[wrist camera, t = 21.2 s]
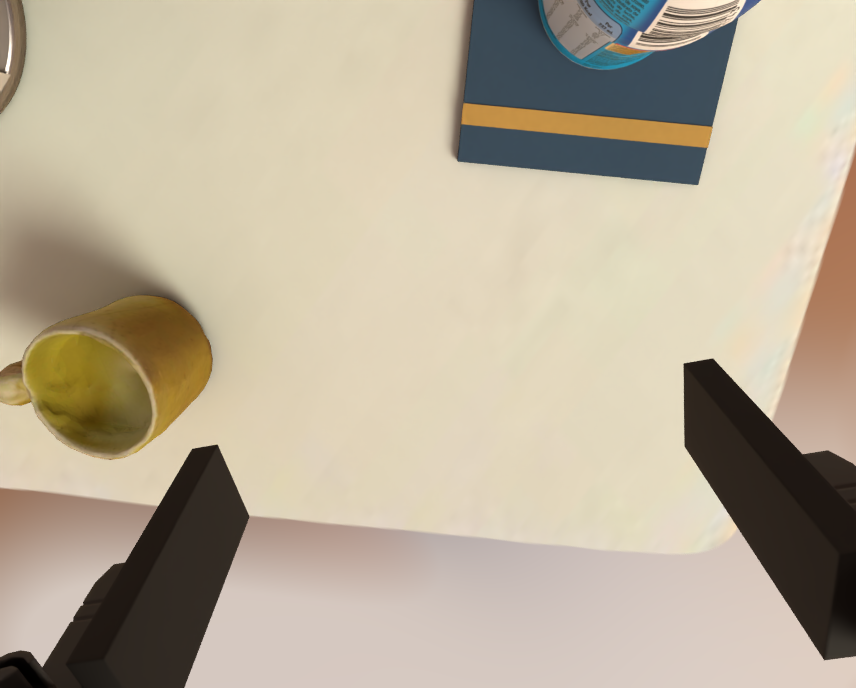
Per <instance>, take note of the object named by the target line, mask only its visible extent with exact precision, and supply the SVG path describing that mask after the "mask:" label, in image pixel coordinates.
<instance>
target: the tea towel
mask: <svg viewBox="0 0 856 688" xmlns="http://www.w3.org/2000/svg"><path fill="white" fill-rule="evenodd" d="M737 21H738V18H737V19H735V20H733V21H732V22H730V23H728V24H726V25H724V26H722V27H719V28H718V29H716V30H715V31H713V32H711V33H710V34H708V35H706V36H705V37H703V38H701V39H699V40H697V41H695V42H692V43H690V44H687V45H684V46H681V47H678V48H674V49H670V50H663V51H655V52H653V53H652V54H650V55H649V56H647V57H645V58H644V59H642V60H640V61H638V62H636V63H633V64H631V65H628V66H625V67H622V68H617V69H610V70H599V69H592V68H588V67H584V66H581V65H579V64H577V63H575V62H573V61H571V60H570V59H568V58H567V57H566V56H564V55H563V54H562V53H561V52H560V51H559V50H558V49H557V48H556V47H555V46H554V44H553V43H552V41H551V40H550V38H549V37H548V35H547V33H546V31H545V29H544V26H543V23H542V20H541V16H540V11H539V4H538V0H474V5H473V15H472V24H471V34H470V44H469V53H468V63H467V73H466V82H465V92H464V102H463V111H462V121H461V131H460V140H459V150H458V160H457V161H458V162H469V163H479V164H489V165H499V166H509V167H519V168H530V169H540V170H550V171H560V172H570V173H580V174H590V175H601V176H611V177H621V178H631V179H641V180H651V181H662V182H672V183H682V184H692V185H698V183H699V179H700V175H701V171H702V167H703V163H704V158H705V154H706V150H707V148H708V145H709V141H710V136H711V132H712V128H713V127H712V125H713V121H714V117H715V113H716V108H717V104H718V100H719V96H720V92H721V88H722V83H723V79H724V75H725V71H726V67H727V63H728V59H729V54H730V50H731V46H732V42H733V38H734V34H735V29H736V25H737Z"/></svg>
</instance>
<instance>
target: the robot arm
mask: <svg viewBox="0 0 856 688" xmlns="http://www.w3.org/2000/svg"><path fill="white" fill-rule="evenodd" d="M25 55H26V24H25V16H24V10H23V5H22V1H21V0H0V114H1V113H2V112H3V110H4V109H5V108H6V106H7V105H8V104H9V102H10V101H11V99H12V97H13V95H14V94H15V92H16V89H17V87H18V84H19V82H20V79H21V75H22V72H23V67H24V62H25ZM684 435H685V448H686V449H687V451H688V452H689V454H690V455H691V457H692V458H693V460H694V461H695V463H696V464H697V466H698V468H699V469H700V471H701V472H702V474H703V475H704V477H705V478H706V480H707V481H708V483H709V484H710V486H711V487H712V489H713V491H714V492H715V494H716V495H717V497H718V498H719V500H720V501H721V503H722V504H723V506H724V507H725V509H726V510H727V512H728V513H729V515H730V517H731V518H732V520H733V521H734V523H735V524H736V526H737V527H738V529H739V530H740V532H741V533H742V535H743V536H744V538H745V539H746V541H747V543H748V544H749V546H750V547H751V549H752V550H753V552H754V553H755V555H756V556H757V558H758V559H759V561H760V562H761V564H762V566H763V567H764V568H765V570H766V572H767V573H768V575H769V576H770V578H771V579H772V581H773V582H774V584H775V585H776V587H777V588H778V590H779V592H780V593H781V595H782V596H783V598H784V599H785V601H786V602H787V604H788V605H789V607H790V608H791V610H792V611H793V613H794V614H795V616H796V618H797V619H798V621H799V622H800V624H801V625H802V627H803V628H804V630H805V631H806V633H807V634H808V636H809V637H810V639H811V641H812V642H813V644H814V645H815V647H816V648H817V650H818V651H819V653H820V654H821V656H822V657H823V659H824V660H830V659H837V658H845V657H853V656H856V466H855V465H854V464H853V463H851V462H849V461H847V460H845V459H843V458H841V457H839V456H837V455H836V454H834V453H832V452H830V451H821V452H815V453H809V454H801V452H800V451H799V450H798V449H797V448H796V447H795V446H794V445H793V444H792V443H791V442H790V441H789V440H788V438H787V437H786V436H785V435H784V434H783V433H782V432H781V431H780V430H779V429H778V428H777V427H776V426H775V425H774V423H773V422H772V421H771V420H770V419H769V418H768V417H767V416H766V415H765V414H764V413H763V412H762V411H761V409H760V408H759V407H758V406H757V405H756V404H755V403H754V402H753V401H752V400H751V399H750V398H749V397H748V396H747V394H746V393H745V392H744V391H743V390H742V389H741V388H740V387H739V386H738V385H737V384H736V383H735V382H734V381H733V379H732V378H731V377H730V376H729V375H728V374H727V373H726V372H725V371H724V370H723V369H722V368H721V367H720V366H719V364H718V363H717V362H716V361H715V360H714V359H707V360H701V361H696V362H690V363H684ZM248 519H249V515H248V512H247V510H246V508H245V506H244V503H243V501H242V499H241V497H240V494H239V492H238V490H237V487H236V485H235V483H234V481H233V478H232V476H231V474H230V472H229V469H228V467H227V465H226V463H225V460H224V458H223V456H222V454H221V451H220V449H219V447H218V445H212V446H206V447H201V448H195V449H192V450H191V452H190V454H189V455H188V457H187V459H186V460H185V462H184V464H183V465H182V467H181V469H180V471H179V472H178V474H177V476H176V477H175V479H174V481H173V482H172V484H171V486H170V487H169V489H168V491H167V493H166V494H165V496H164V498H163V499H162V501H161V503H160V504H159V506H158V508H157V509H156V511H155V513H154V515H153V516H152V518H151V520H150V521H149V523H148V525H147V526H146V528H145V530H144V531H143V533H142V535H141V537H140V538H139V540H138V542H137V543H136V545H135V547H134V548H133V550H132V552H131V554H130V556H129V557H128V559H127V560H126V562H125V563H120V564H114V565H113V566H112V567H111V568H110V569H109V570H108V571H107V572H106V573H105V574H104V575H103V576H102V577H101V578H100V579H98V580H97V582H95V584H94V586H93V587H92V589H91V590H90V592H89V594H88V595H87V597H86V598H85V600H84V602H83V606H80V608H79V610H78V611H77V613H76V614H75V616H74V620H73V622H70V624H69V626H68V627H67V629H66V630H65V632H64V634H63V635H62V637H61V638H60V640H59V642H58V643H57V645H56V647H55V648H54V650H53V651H52V653H51V654H50V656H49V658H48V659H47V661H46V662H45V664H44V666H43V667H41V666H40V664H39V663H38V662H37V660H36V659H35V658H34V656H33V655H32V654H31V652H27V651H16V652H12V653H8V654H6V655H4V656H2V657H0V688H184V687H185V684H186V681H187V679H188V676H189V674H190V671H191V668H192V666H193V663H194V661H195V658H196V655H197V653H198V650H199V648H200V645H201V642H202V640H203V637H204V635H205V632H206V629H207V627H208V624H209V621H210V618H211V616H212V613H213V611H214V608H215V606H216V603H217V600H218V598H219V595H220V592H221V590H222V587H223V584H224V582H225V579H226V577H227V574H228V572H229V569H230V566H231V564H232V561H233V558H234V556H235V553H236V551H237V548H238V545H239V543H240V540H241V537H242V535H243V532H244V530H245V527H246V524H247V521H248Z"/></svg>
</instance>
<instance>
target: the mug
mask: <svg viewBox="0 0 856 688" xmlns="http://www.w3.org/2000/svg"><path fill="white" fill-rule="evenodd" d="M212 360H213V359H212V353H211V346H210V343H209V340H208V339H207V337H206V336H205V334H204V332H203V330H202V328H201V326H200V324H199V323H198V321H197V320H196V319H195V318H194V317H193V316H192V315H190V314H189V313H188V312H187V311H186V310H185V309H184V308H183V307H181V306H180V305H179V304H177V303H176V302H174V301H172V300H169V299H166V298H163V297H157V296H149V295H137V296H130V297H126V298H122V299H120V300H117V301H115V302H113V303H111V304H109V305H108V306H105V307H103V308H101V309H98V310H96V311H92V312H89V313H86V314H83V315H80V316H76V317H73V318H70V319H67V320H64V321H61V322H59V323H56V324H54V325H52V326H50V327H48V328H47V329H45V330H43V331H42V332H41V333H40V334H39V335H38V336H37V337H36V338H35V339H34V340H33V341H32V342H31V343H30V345H29V346H28V347H27V348H26V350H25V353H24V355H23V359H22V361H19V362H16V363H13V364H10V365H8V366H7V367H5V368H4V369H3V370H2V371H1V372H0V402H2V403H5V404H8V405H24V404H27V403H30V402H32V405H33V407H34V410H35V413H36V415H37V416H38V418H39V419H40V420H41V421H42V422H43V424H44V425H45V426H46V427H47V429H48V430H49V431H50V432H51V433H52V434H53V435H55V437H56V438H57V439H58V440H59V441H61V442H62V443H63V444H65V445H67V446H68V447H70V448H72V449H74V450H76V451H79V452H81V453H84V454H86V455H89V456H92V457H97V458H102V459H109V460H112V459H119V458H124V457H127V456H129V455H131V454H133V453H136V452H138V451H139V450H140V449H142V448H143V447H144V446H145V445H147V444H148V443H149V442H150V441H152V440H153V439H154V438H156V437H157V436H159V435H160V434H161V433H163V432H164V431H165V430H166V429H167V428H168V426H169V425H170V424H171V423H172V422H173V421H174V420H175V419H176V418H177V417H178V416H179V415H180V414H181V413H182V412H183V411H184V410H185V409H186V408H187V407H188V406H189V405H190V404H191V402H193V401H194V400H195V399H196V398H197V397H198V396H199V394H200V393H201V392H202V390H203V389H204V387H205V386H206V384H207V382H208V380H209V377H210V374H211V371H212Z"/></svg>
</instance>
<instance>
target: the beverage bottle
mask: <svg viewBox="0 0 856 688" xmlns="http://www.w3.org/2000/svg"><path fill="white" fill-rule="evenodd" d="M759 1H761V0H538V4H539V11H540V16H541V20H542V23H543V26H544V29H545V31H546V33H547V35H548V37H549V38H550V40H551V41H552V43H553V44H554V46H555V47H556V48H557V49H558V50H559V51H560V52H561V53H562V54H563V55H564V56H566V57H567V58H568V59H570V60H571V61H573V62H575V63H577V64H579V65H581V66H584V67H588V68H592V69H599V70H610V69H617V68H622V67H625V66H628V65H631V64H633V63H636V62H638V61H640V60H642V59H644V58H645V57H647V56H649V55H650V54H652V53H653V52H655V51H663V50H670V49H674V48H678V47H681V46H684V45H687V44H690V43H692V42H695V41H697V40H699V39H701V38H703V37H705V36H706V35H708V34H710V33H711V32H713V31H715V30H716V29H718V28H719V27H722V26H724V25H726V24H728V23H730V22H732V21H733V20H735V19H737V18H738V17H740V16H741V15H743V14H744V13H746V12H747V11H748V10H750V9H751V8H752V7H754V6H755V5H756V4H757V3H758V2H759Z"/></svg>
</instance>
